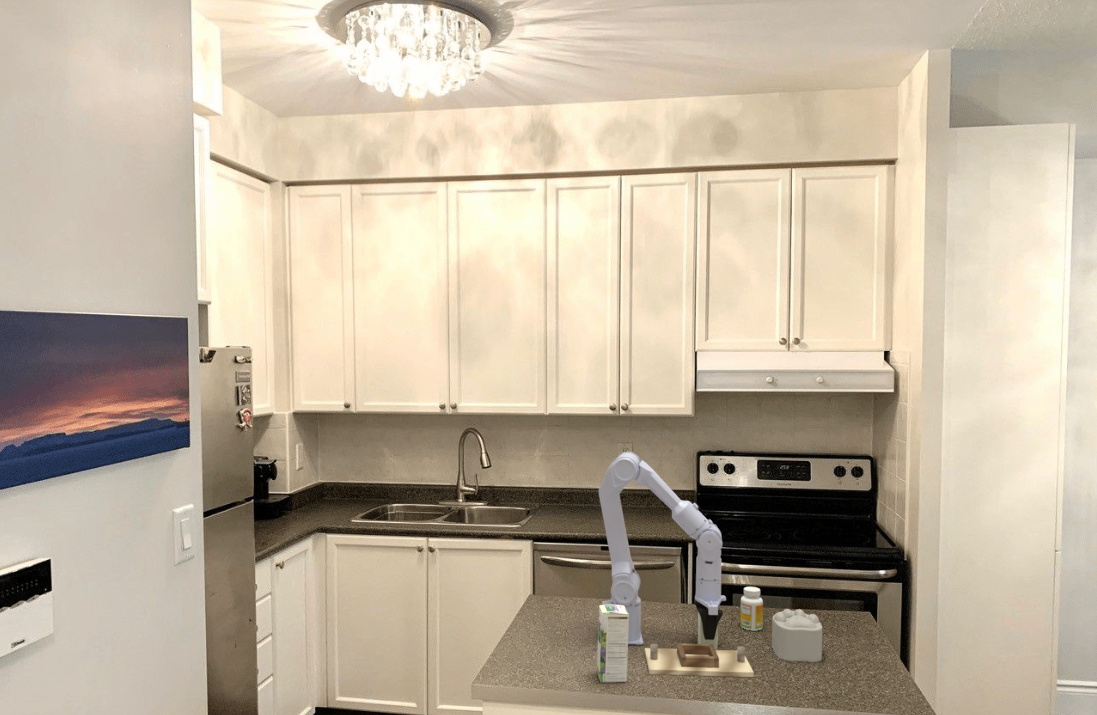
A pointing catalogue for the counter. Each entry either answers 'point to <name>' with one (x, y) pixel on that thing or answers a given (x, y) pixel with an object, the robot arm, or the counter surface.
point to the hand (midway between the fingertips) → (707, 635)
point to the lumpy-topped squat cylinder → (797, 636)
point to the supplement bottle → (751, 609)
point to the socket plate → (698, 661)
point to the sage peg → (701, 635)
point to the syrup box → (612, 643)
